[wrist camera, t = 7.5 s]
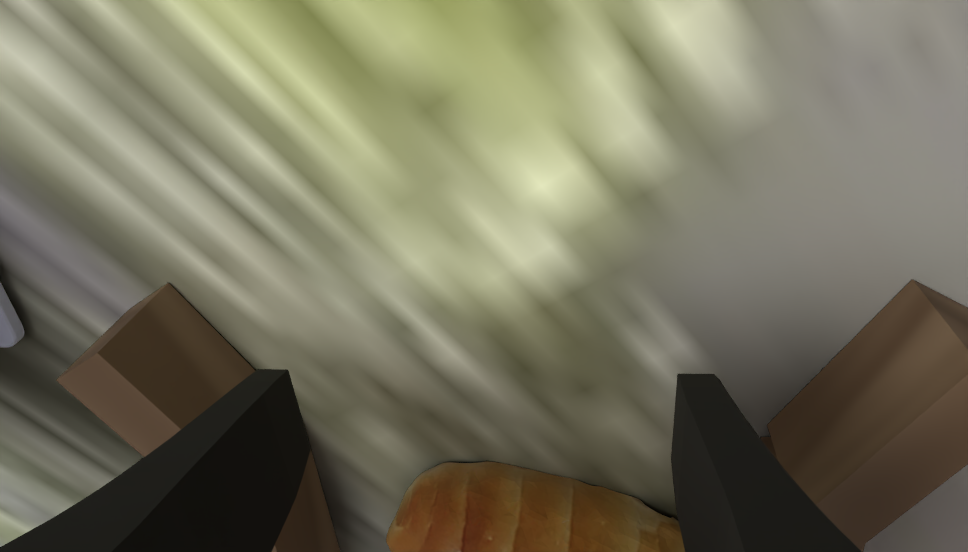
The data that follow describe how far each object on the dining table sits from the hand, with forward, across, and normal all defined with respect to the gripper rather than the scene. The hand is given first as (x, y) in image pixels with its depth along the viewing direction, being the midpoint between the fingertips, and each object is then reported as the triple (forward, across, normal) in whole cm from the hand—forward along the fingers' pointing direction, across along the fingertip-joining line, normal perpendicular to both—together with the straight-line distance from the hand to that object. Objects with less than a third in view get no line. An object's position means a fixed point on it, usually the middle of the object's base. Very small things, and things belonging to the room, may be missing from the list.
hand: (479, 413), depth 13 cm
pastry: (+5, -1, +10) cm, 11 cm away
